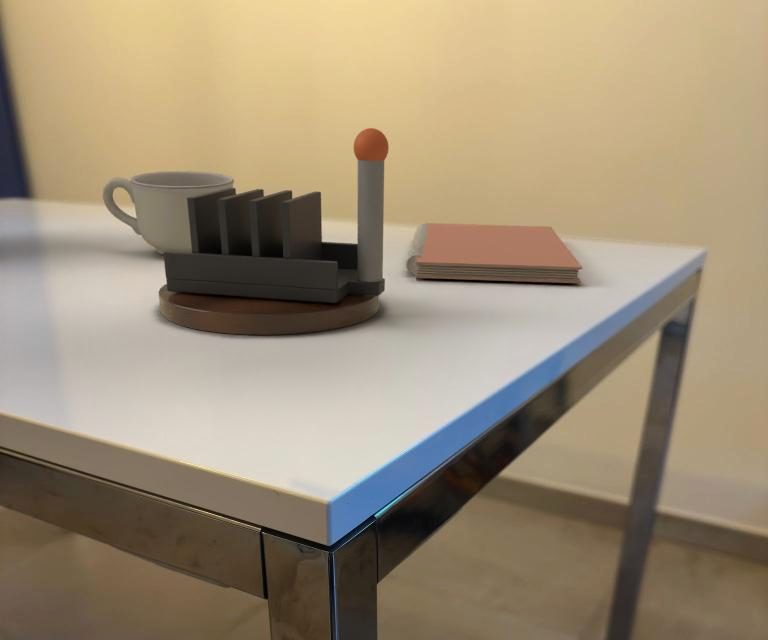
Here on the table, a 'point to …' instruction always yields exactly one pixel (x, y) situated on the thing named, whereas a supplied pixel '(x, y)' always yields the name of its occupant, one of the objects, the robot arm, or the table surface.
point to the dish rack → (284, 241)
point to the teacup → (163, 204)
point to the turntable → (263, 313)
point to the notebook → (491, 253)
